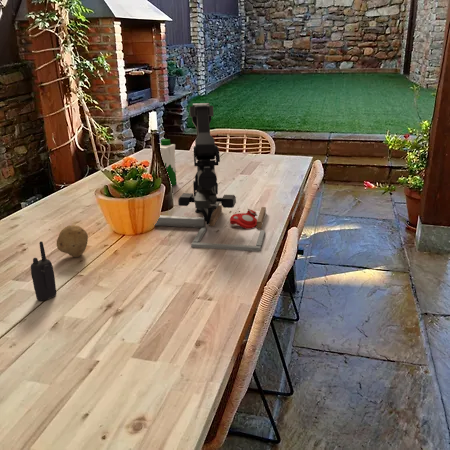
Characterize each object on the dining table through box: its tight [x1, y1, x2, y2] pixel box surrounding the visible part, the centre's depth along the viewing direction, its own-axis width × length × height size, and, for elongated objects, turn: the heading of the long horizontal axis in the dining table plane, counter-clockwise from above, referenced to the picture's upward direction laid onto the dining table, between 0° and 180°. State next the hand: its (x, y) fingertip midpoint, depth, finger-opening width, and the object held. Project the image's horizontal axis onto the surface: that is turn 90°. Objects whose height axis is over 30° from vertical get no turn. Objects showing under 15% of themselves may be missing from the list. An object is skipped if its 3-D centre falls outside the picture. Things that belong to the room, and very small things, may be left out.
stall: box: [208, 204, 267, 230], centre depth 169 cm, size 18×15×2 cm
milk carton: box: [159, 138, 177, 187], centre depth 208 cm, size 9×9×20 cm
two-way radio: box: [30, 241, 57, 302], centre depth 117 cm, size 6×4×15 cm
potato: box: [56, 224, 89, 258], centre depth 141 cm, size 9×9×10 cm
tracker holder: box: [229, 208, 258, 230], centre depth 166 cm, size 12×4×10 cm
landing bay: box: [190, 227, 266, 252], centre depth 152 cm, size 22×14×1 cm, turn 79°
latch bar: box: [154, 214, 207, 229], centre depth 164 cm, size 18×2×3 cm, turn 79°
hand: (208, 224), depth 162 cm, fingers closed
